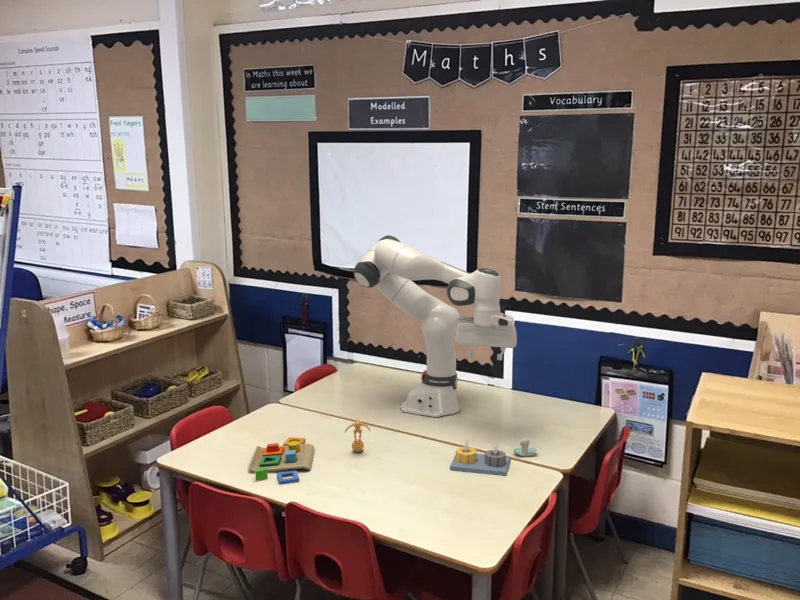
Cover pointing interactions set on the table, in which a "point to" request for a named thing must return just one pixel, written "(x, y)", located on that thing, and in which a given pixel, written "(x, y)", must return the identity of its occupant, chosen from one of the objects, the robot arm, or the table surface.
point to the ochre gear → (466, 455)
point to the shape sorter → (282, 459)
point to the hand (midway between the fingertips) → (485, 358)
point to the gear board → (484, 462)
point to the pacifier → (524, 448)
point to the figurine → (358, 444)
